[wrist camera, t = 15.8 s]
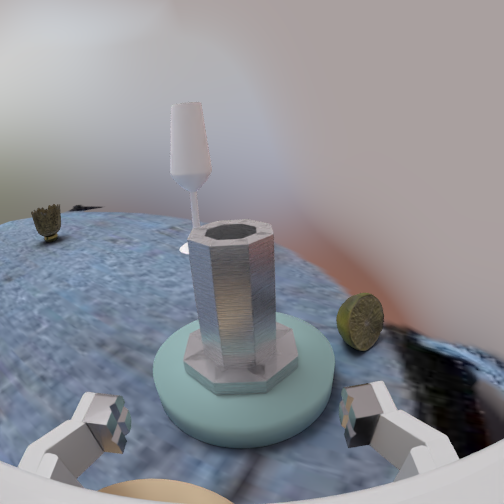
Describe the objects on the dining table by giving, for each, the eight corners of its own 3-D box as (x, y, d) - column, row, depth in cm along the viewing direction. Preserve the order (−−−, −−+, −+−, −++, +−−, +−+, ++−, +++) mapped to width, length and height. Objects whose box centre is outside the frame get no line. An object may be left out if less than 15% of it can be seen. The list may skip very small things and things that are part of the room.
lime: (381, 330, 30) (388, 286, 28) (379, 361, 26) (388, 313, 24) (338, 325, 31) (342, 281, 30) (330, 355, 27) (334, 307, 25)
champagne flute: (174, 254, 52) (158, 105, 44) (185, 241, 59) (173, 108, 50) (213, 254, 52) (201, 100, 43) (221, 240, 58) (211, 103, 49)
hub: (249, 483, 16) (241, 422, 13) (129, 380, 25) (108, 317, 22) (362, 366, 25) (372, 300, 23) (242, 316, 34) (238, 259, 32)
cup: (66, 233, 70) (60, 201, 67) (65, 241, 64) (58, 206, 61) (39, 240, 67) (33, 208, 64) (36, 248, 61) (28, 214, 58)
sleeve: (240, 413, 19) (225, 268, 15) (168, 358, 24) (142, 237, 20) (316, 351, 24) (322, 226, 20) (242, 317, 29) (234, 209, 26)
